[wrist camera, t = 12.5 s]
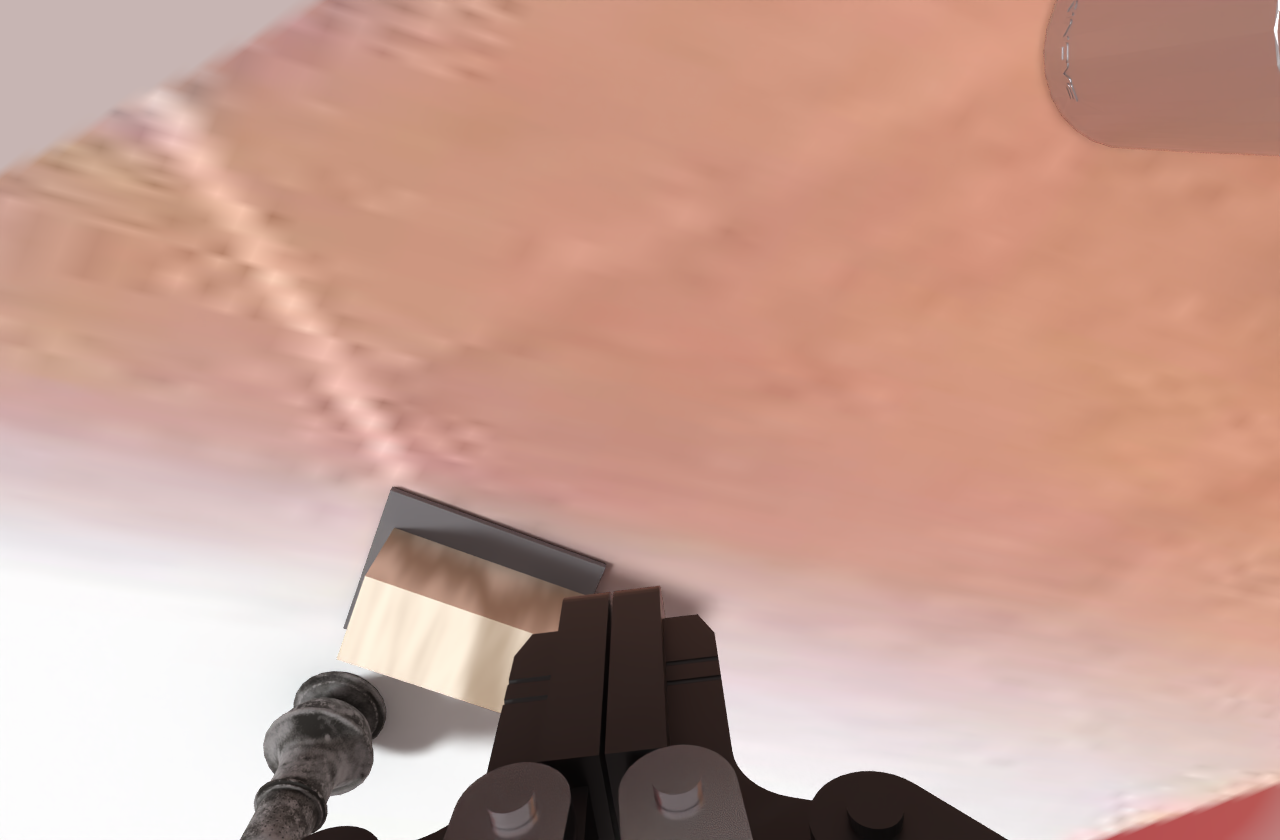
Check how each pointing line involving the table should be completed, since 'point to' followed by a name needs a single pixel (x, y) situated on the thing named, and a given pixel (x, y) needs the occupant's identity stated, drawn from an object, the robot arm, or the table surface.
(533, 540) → the gray rectangular block
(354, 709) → the salt shaker
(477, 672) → the birch block
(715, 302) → the table surface
